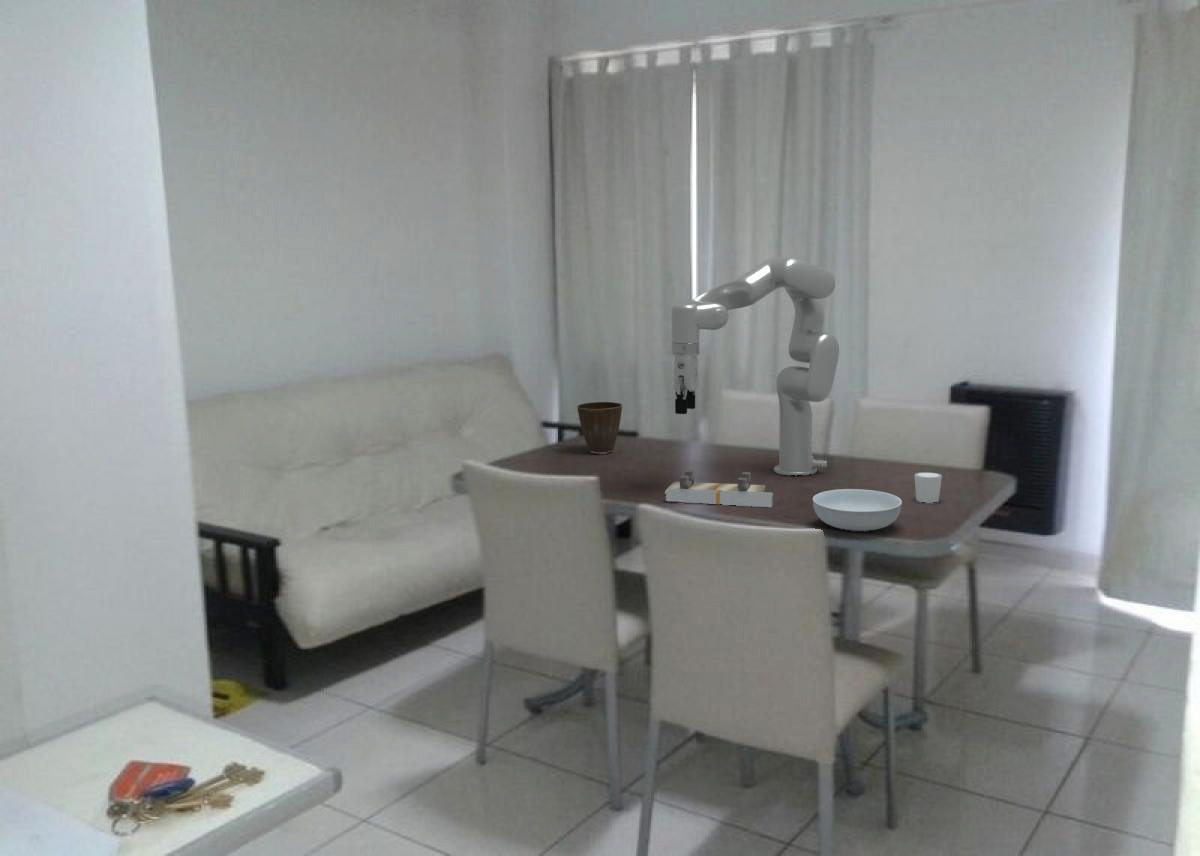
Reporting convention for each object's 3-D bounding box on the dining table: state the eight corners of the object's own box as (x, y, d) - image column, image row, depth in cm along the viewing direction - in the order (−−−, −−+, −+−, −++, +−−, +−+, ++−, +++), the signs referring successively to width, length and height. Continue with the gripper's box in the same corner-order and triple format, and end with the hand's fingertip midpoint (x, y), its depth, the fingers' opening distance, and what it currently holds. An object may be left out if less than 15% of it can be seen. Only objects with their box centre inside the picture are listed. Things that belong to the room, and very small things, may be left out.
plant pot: (601, 458, 334) (600, 410, 331) (569, 453, 344) (567, 406, 341) (632, 451, 344) (631, 404, 342) (600, 446, 354) (598, 400, 352)
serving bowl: (795, 528, 248) (795, 500, 247) (842, 511, 262) (843, 484, 261) (871, 544, 233) (872, 515, 232) (917, 525, 248) (918, 497, 246)
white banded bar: (773, 504, 270) (773, 492, 270) (771, 507, 267) (771, 495, 267) (668, 500, 278) (668, 487, 278) (665, 503, 275) (665, 490, 274)
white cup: (919, 496, 275) (920, 470, 274) (945, 499, 271) (946, 473, 270) (909, 501, 270) (910, 475, 269) (935, 505, 266) (935, 478, 264)
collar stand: (765, 489, 287) (765, 471, 286) (759, 499, 276) (759, 481, 275) (673, 485, 294) (673, 468, 293) (664, 495, 283) (664, 477, 282)
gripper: (691, 352, 272) (691, 416, 275) (705, 346, 288) (705, 407, 291) (664, 351, 274) (664, 415, 277) (679, 346, 290) (679, 406, 293)
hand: (685, 411), depth 284 cm, fingers open, 9 cm apart
